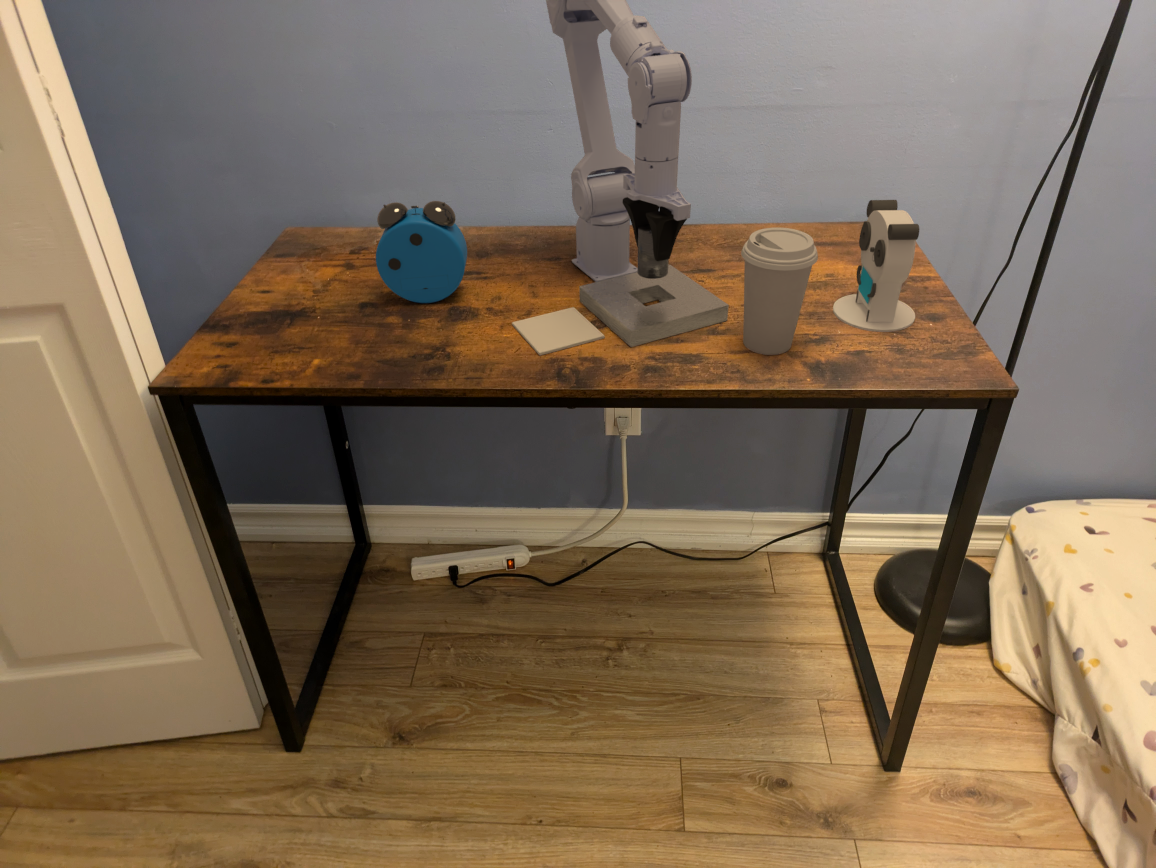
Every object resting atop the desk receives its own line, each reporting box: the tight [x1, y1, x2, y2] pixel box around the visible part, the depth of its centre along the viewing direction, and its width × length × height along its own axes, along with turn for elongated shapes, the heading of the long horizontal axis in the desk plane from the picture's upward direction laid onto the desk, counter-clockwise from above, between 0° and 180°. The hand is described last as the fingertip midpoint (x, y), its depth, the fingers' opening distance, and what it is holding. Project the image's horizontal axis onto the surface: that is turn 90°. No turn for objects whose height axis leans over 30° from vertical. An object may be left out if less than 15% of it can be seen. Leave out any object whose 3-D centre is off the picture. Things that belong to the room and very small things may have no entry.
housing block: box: [578, 264, 730, 348], centre depth 113 cm, size 16×16×2 cm
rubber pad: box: [511, 306, 606, 356], centre depth 109 cm, size 10×10×1 cm
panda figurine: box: [832, 199, 920, 333], centre depth 107 cm, size 12×11×15 cm
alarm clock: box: [375, 200, 468, 304], centre depth 115 cm, size 13×6×15 cm, turn 92°
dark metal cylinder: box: [637, 223, 670, 279], centre depth 108 cm, size 4×4×6 cm
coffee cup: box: [740, 227, 819, 356], centre depth 101 cm, size 10×10×15 cm
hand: (653, 253), depth 108 cm, fingers closed on dark metal cylinder, 4 cm apart
